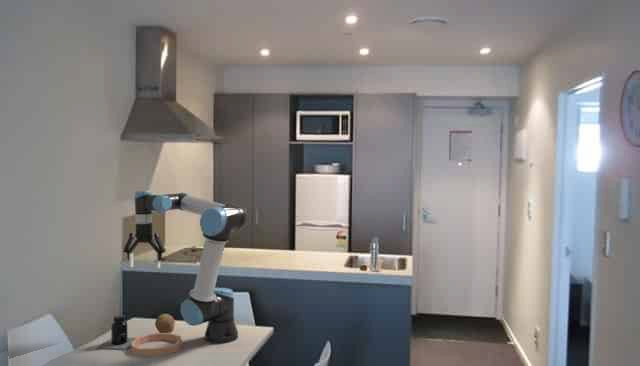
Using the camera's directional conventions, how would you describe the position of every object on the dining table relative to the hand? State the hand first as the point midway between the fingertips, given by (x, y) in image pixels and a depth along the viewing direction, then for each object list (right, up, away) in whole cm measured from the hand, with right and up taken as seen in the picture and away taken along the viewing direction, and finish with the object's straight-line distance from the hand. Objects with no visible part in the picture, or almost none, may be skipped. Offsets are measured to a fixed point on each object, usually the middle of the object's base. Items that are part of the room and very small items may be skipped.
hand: (144, 267), depth 256 cm
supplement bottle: (-7, -32, -13) cm, 35 cm away
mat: (-7, -32, -13) cm, 36 cm away
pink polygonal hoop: (+11, -32, -18) cm, 39 cm away
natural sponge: (+10, -32, -1) cm, 33 cm away
